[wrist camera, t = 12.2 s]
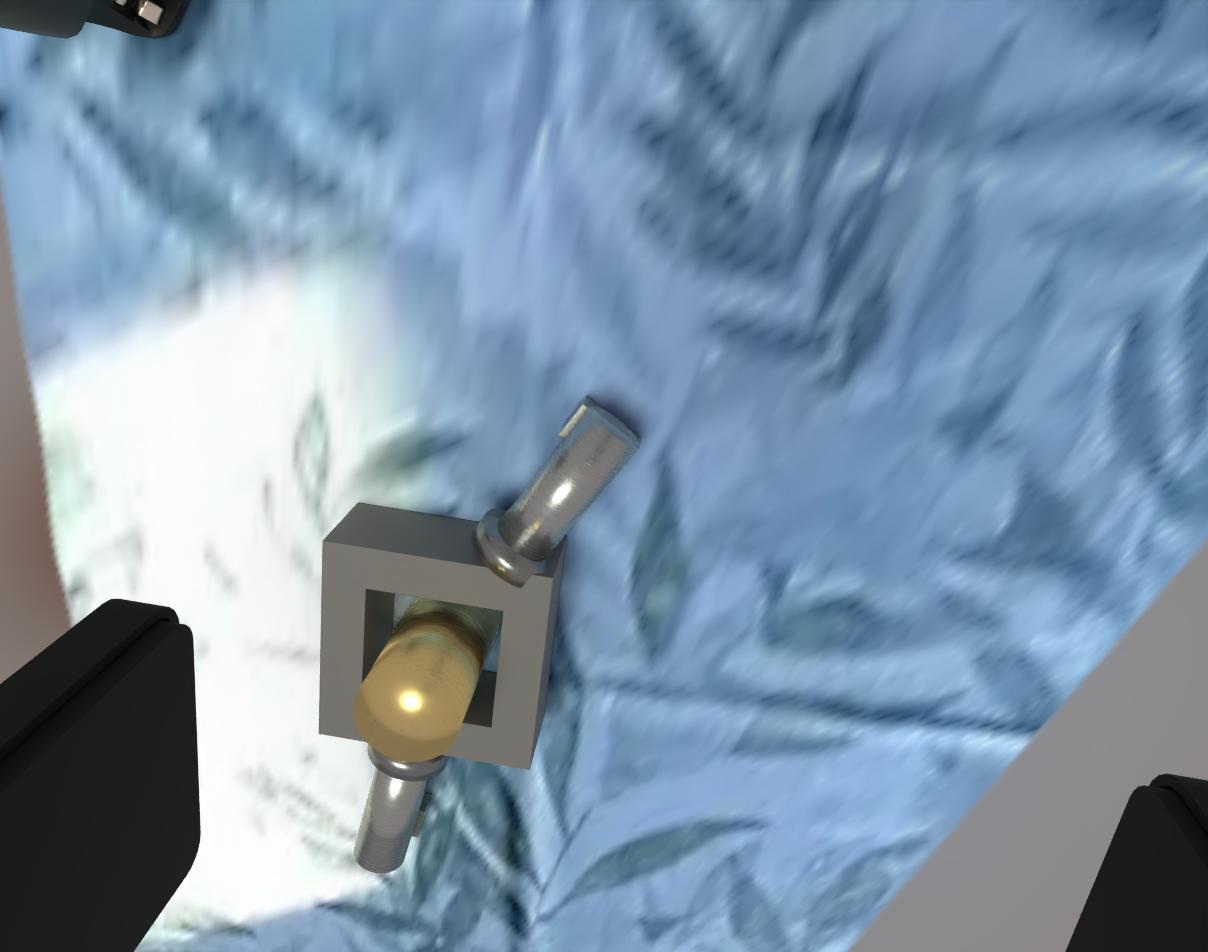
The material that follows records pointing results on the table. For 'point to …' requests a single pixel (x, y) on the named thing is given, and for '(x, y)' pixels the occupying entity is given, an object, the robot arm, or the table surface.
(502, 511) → the shaft
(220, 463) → the table surface
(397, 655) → the yellow cylinder
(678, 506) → the table surface
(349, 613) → the grey square frame
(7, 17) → the battery charger
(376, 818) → the shaft
